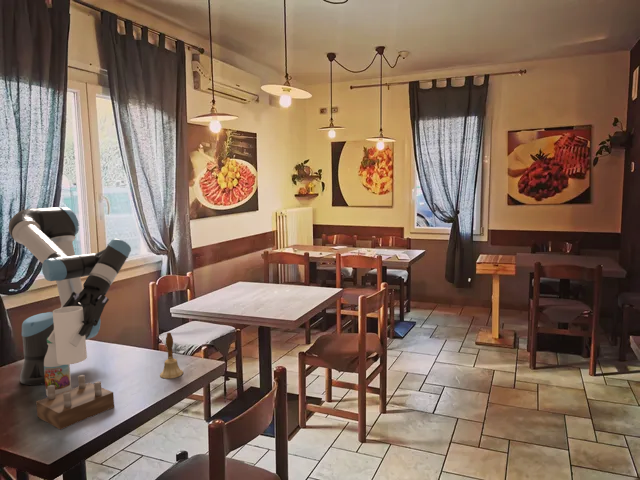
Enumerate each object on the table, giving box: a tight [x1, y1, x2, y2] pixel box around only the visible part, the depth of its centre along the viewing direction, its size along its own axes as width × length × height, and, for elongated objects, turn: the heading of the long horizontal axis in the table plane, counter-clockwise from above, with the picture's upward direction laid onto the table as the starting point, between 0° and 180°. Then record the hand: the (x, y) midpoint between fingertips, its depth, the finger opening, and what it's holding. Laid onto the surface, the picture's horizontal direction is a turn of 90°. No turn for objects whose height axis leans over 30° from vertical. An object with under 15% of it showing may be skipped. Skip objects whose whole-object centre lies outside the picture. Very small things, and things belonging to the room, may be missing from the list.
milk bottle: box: [44, 338, 72, 397], centre depth 165 cm, size 8×8×20 cm
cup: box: [52, 306, 88, 365], centre depth 148 cm, size 8×8×16 cm
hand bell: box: [159, 332, 184, 380], centre depth 180 cm, size 8×8×16 cm
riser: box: [35, 374, 115, 431], centre depth 151 cm, size 14×17×9 cm
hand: (61, 343), depth 146 cm, fingers closed on cup, 8 cm apart
